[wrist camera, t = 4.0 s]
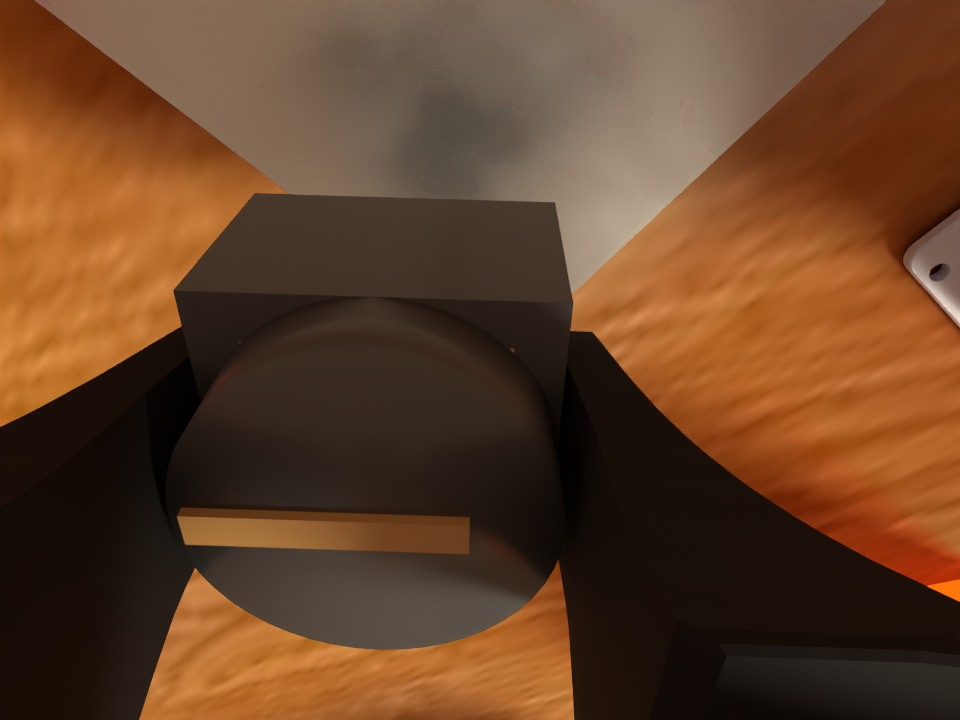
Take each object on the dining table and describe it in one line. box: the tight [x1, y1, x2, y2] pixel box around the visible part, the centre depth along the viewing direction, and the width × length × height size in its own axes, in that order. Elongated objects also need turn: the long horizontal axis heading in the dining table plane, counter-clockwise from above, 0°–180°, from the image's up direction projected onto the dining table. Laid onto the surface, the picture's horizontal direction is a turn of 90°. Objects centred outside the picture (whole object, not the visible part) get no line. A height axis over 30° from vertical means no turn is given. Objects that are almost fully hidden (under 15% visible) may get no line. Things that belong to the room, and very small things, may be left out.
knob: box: [165, 193, 573, 650], centre depth 11 cm, size 5×5×5 cm
